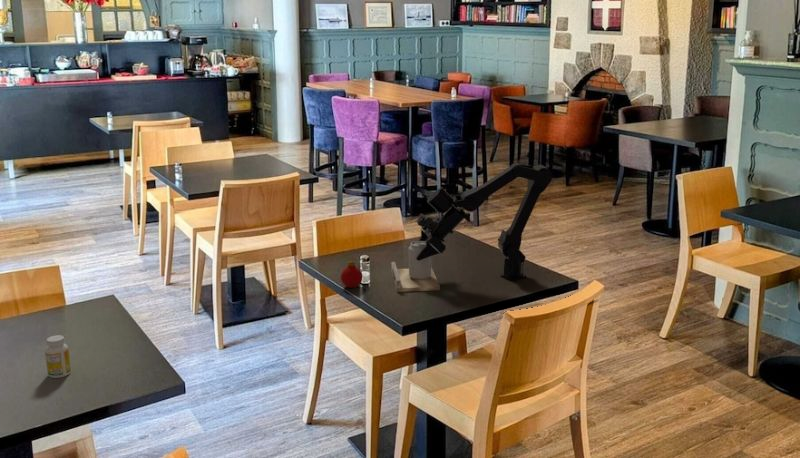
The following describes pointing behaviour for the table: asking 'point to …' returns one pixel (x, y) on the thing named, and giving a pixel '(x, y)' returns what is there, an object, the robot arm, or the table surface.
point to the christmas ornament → (351, 275)
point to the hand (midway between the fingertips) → (415, 255)
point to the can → (418, 262)
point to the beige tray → (412, 281)
